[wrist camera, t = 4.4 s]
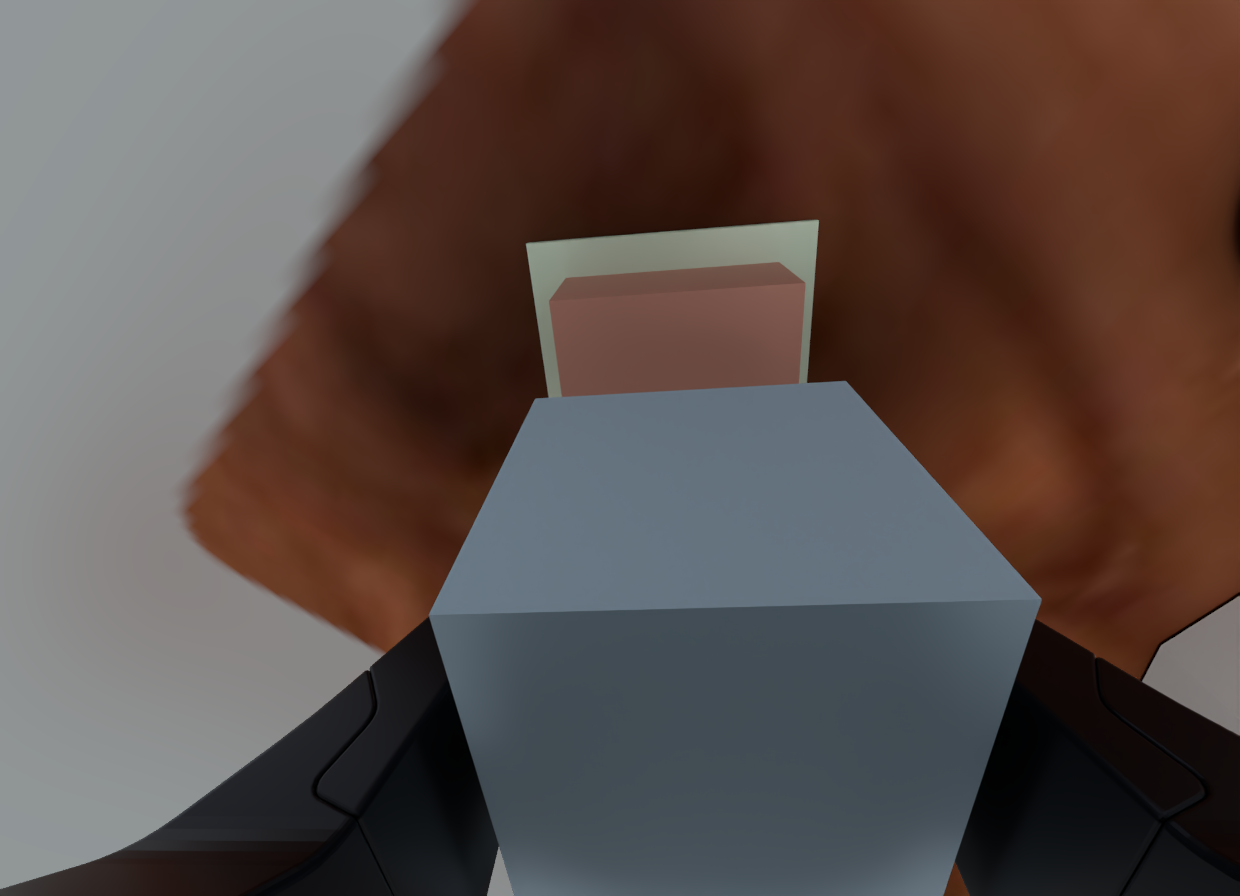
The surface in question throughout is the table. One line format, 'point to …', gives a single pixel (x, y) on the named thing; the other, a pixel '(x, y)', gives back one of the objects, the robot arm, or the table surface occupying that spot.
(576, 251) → the baseplate
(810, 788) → the cube blue
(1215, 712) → the toilet paper
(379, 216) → the table surface
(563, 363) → the brick red base
